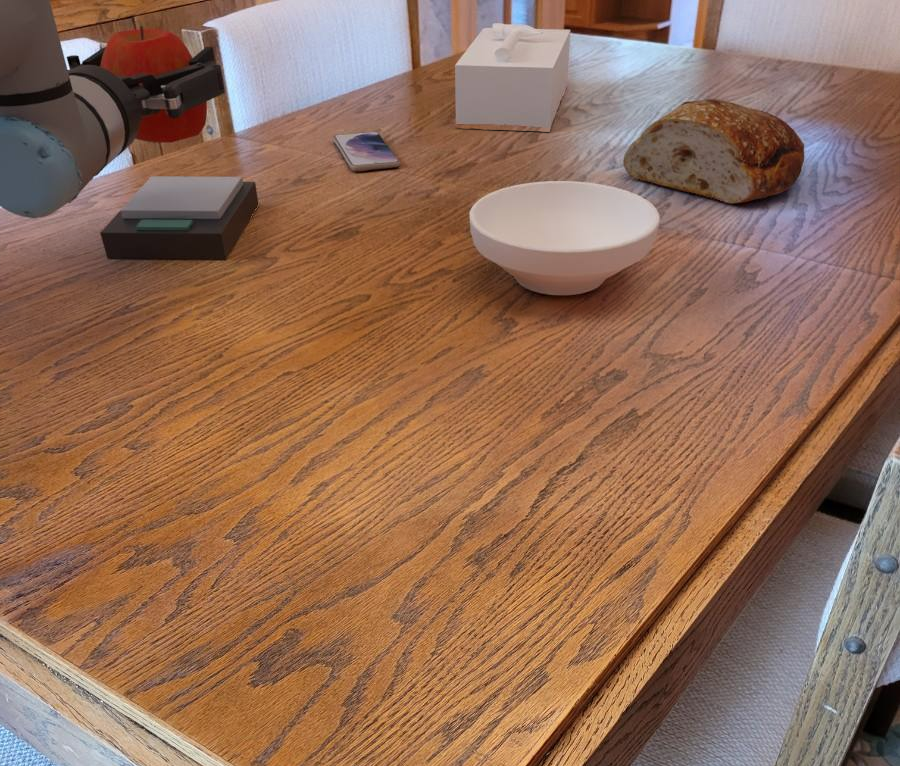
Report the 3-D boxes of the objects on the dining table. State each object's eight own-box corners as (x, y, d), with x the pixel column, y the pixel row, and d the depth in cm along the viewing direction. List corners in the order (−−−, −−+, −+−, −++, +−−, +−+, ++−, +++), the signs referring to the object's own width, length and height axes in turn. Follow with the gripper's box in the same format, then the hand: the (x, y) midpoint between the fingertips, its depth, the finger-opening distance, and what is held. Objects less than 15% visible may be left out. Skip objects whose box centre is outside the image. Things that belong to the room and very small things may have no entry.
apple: (96, 150, 97) (66, 35, 90) (138, 120, 105) (113, 13, 97) (191, 153, 95) (168, 37, 88) (226, 123, 103) (208, 14, 96)
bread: (616, 178, 121) (625, 95, 114) (700, 147, 129) (712, 68, 123) (745, 218, 109) (763, 129, 103) (827, 182, 118) (849, 97, 111)
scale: (107, 258, 104) (97, 223, 101) (152, 205, 116) (145, 172, 114) (225, 259, 103) (219, 224, 101) (259, 206, 116) (253, 173, 113)
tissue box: (566, 88, 154) (571, 13, 146) (549, 132, 136) (553, 49, 128) (483, 85, 156) (484, 11, 149) (455, 128, 138) (454, 47, 131)
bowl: (432, 277, 99) (430, 210, 94) (559, 231, 108) (563, 168, 103) (559, 340, 88) (564, 268, 83) (688, 283, 97) (700, 215, 92)
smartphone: (378, 130, 135) (401, 161, 125) (378, 137, 136) (401, 168, 125) (331, 134, 134) (351, 166, 123) (332, 140, 134) (351, 172, 124)
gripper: (-20, 162, 86) (69, 98, 102) (217, 164, 84) (270, 99, 100) (-51, 74, 81) (48, 21, 97) (200, 74, 79) (259, 20, 95)
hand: (161, 61), depth 99 cm, fingers closed on apple, 11 cm apart
